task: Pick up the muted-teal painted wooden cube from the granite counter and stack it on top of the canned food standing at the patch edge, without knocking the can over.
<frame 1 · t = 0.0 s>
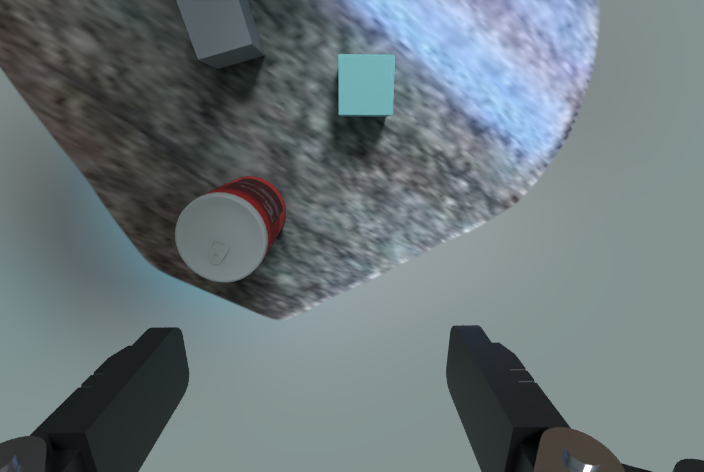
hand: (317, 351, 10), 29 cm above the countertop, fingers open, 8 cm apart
slate block: (232, 35, 33), on the countertop
teal block: (363, 91, 35), on the countertop
canned food: (254, 209, 39), on the countertop
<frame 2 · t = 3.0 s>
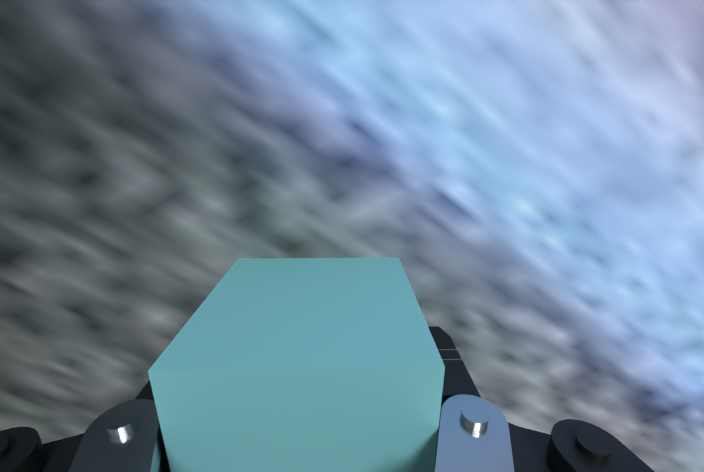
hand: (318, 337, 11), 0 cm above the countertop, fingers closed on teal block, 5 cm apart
teal block: (320, 327, 11), on the countertop, touching gripper
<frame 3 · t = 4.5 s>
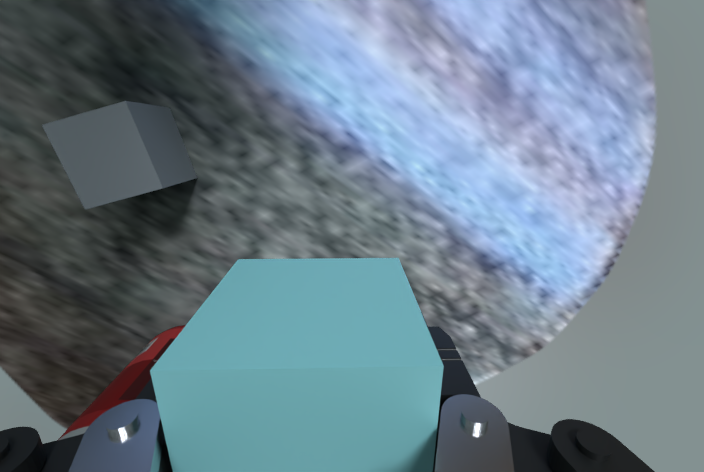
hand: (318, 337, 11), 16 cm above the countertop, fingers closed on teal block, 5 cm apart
slate block: (151, 152, 24), on the countertop
teal block: (320, 327, 11), point 15 cm above the countertop, touching gripper
canned food: (193, 360, 29), on the countertop
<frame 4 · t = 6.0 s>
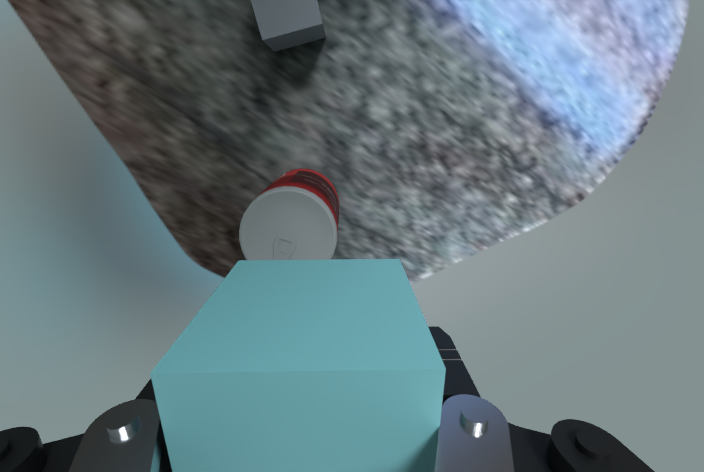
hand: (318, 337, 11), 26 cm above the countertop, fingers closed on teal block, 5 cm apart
slate block: (292, 14, 30), on the countertop
teal block: (321, 328, 11), point 26 cm above the countertop, touching gripper
canned food: (304, 203, 36), on the countertop
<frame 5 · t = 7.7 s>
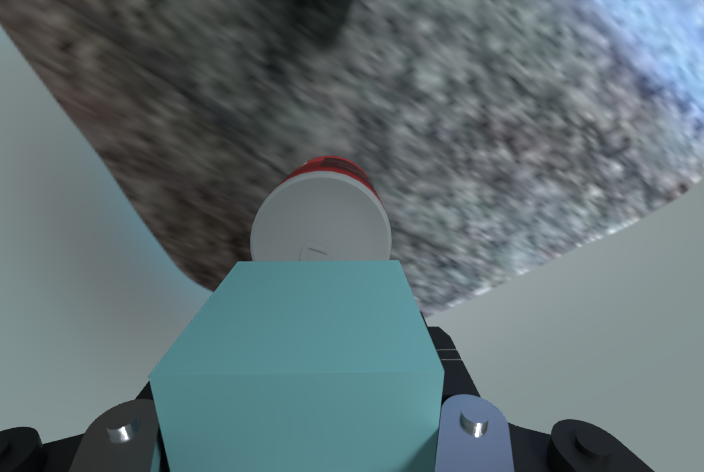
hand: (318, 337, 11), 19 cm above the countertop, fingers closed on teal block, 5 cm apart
teal block: (320, 330, 11), point 18 cm above the countertop, touching gripper
canned food: (329, 202, 28), on the countertop
when the fingers open (13 cm above the countertop, at t = 9.2 s): teal block drops 1 cm, resting on canned food.
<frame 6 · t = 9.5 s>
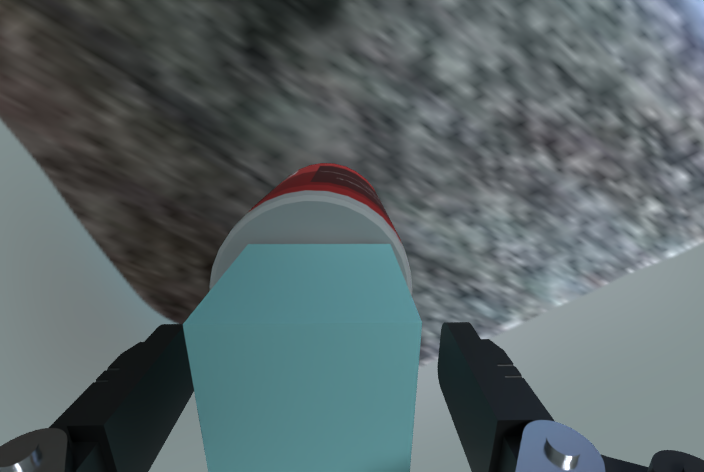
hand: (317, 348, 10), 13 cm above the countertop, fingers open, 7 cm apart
teal block: (321, 306, 13), point 11 cm above the countertop, touching canned food
canned food: (326, 219, 23), on the countertop, touching teal block
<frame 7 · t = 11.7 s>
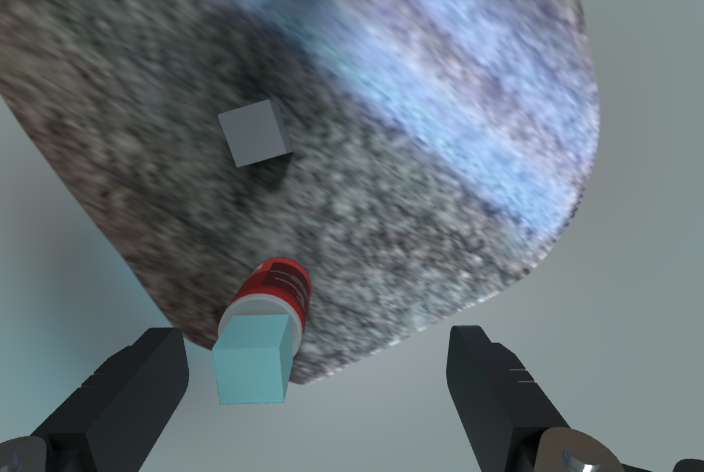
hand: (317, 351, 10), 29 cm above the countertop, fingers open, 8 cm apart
slate block: (264, 135, 36), on the countertop
teal block: (263, 339, 30), point 11 cm above the countertop, touching canned food
canned food: (281, 285, 41), on the countertop, touching teal block
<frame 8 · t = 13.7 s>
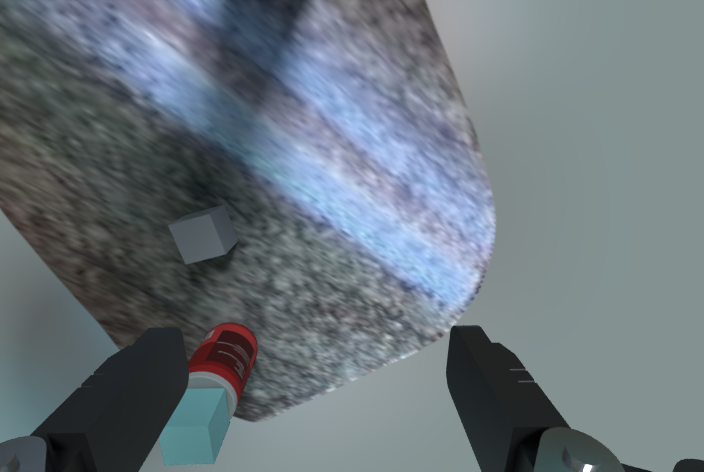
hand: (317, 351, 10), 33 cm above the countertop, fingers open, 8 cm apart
slate block: (213, 227, 43), on the countertop
teal block: (205, 406, 38), point 11 cm above the countertop, touching canned food
canned food: (232, 343, 49), on the countertop, touching teal block
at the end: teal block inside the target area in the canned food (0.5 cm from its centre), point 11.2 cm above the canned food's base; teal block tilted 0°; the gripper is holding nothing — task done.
